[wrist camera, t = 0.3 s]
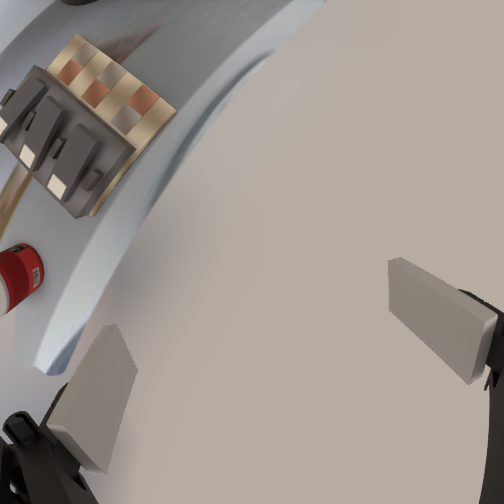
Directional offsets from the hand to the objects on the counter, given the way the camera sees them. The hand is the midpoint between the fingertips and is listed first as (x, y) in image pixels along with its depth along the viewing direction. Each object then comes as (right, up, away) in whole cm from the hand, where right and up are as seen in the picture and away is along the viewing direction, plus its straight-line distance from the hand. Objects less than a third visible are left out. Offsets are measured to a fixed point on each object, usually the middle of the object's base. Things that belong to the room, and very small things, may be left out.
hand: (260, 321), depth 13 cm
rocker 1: (-31, +21, +12) cm, 39 cm away
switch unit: (-24, +22, +20) cm, 38 cm away
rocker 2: (-21, +13, +15) cm, 29 cm away
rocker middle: (-26, +17, +14) cm, 34 cm away
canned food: (-37, +1, +25) cm, 44 cm away
